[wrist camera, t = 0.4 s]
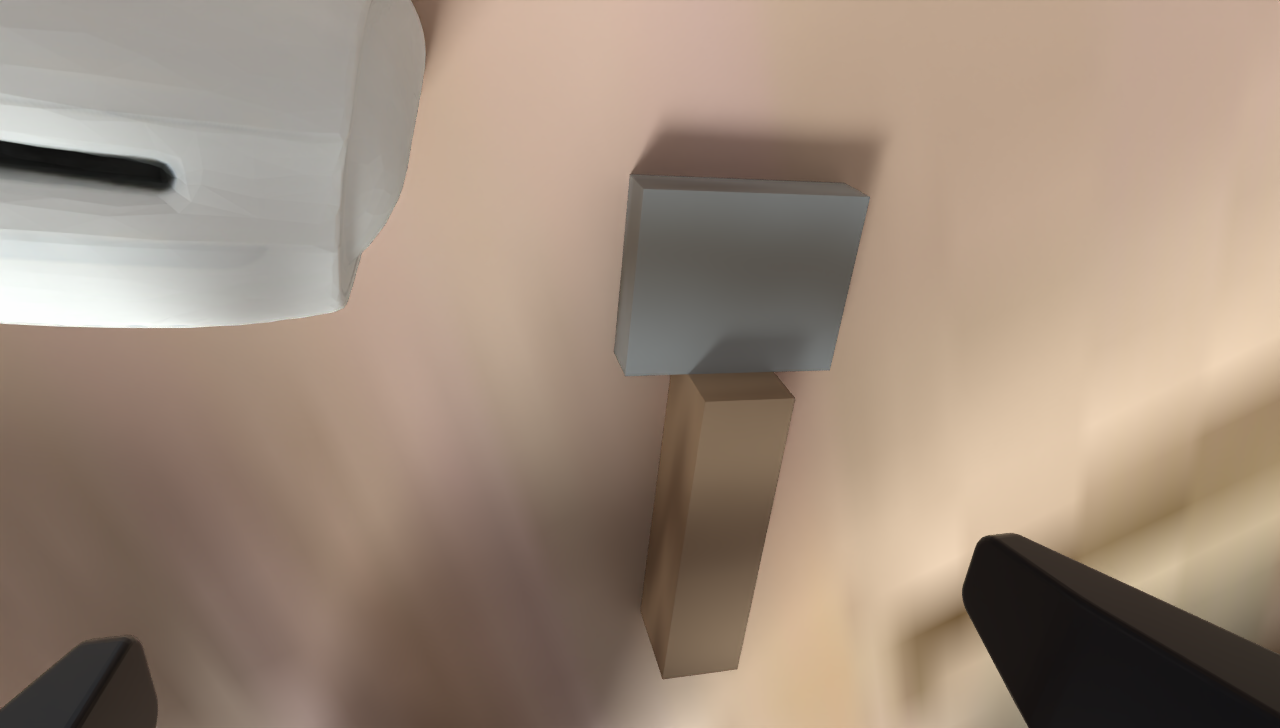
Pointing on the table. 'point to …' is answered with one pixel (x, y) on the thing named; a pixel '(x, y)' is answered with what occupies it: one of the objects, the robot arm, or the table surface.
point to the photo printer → (198, 156)
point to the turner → (724, 379)
